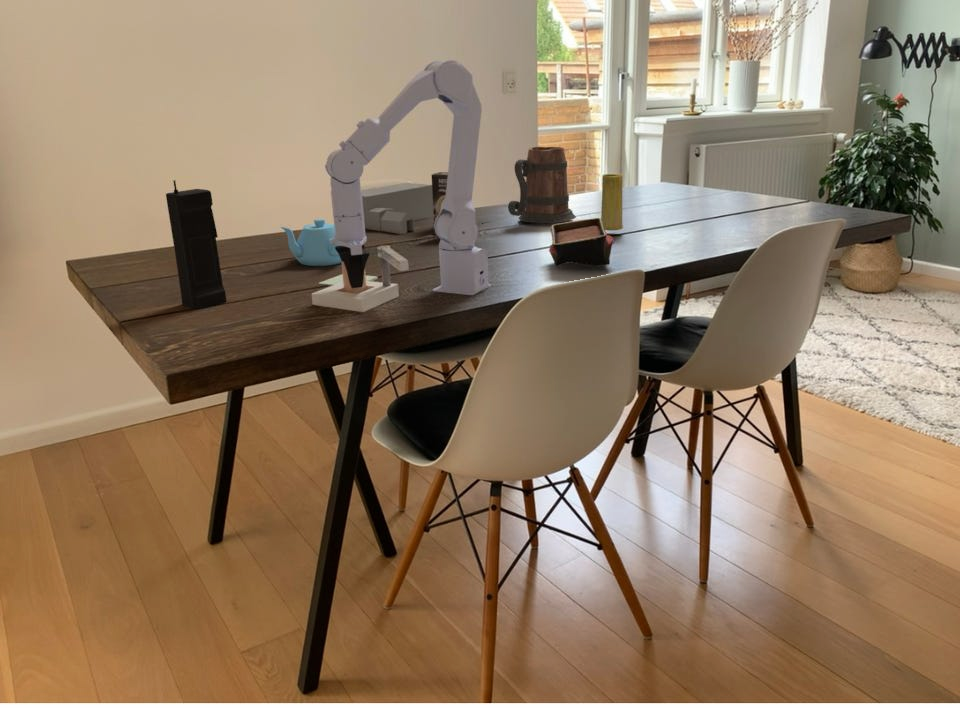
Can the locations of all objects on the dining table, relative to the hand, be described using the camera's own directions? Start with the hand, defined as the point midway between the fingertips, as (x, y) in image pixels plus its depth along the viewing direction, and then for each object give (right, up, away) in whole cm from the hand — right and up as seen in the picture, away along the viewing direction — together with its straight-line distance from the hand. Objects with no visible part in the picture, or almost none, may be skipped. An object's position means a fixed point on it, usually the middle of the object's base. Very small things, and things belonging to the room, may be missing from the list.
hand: (354, 284), depth 159 cm
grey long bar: (+8, +4, -6) cm, 11 cm away
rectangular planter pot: (+48, +7, +28) cm, 56 cm away
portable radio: (-29, -4, +2) cm, 30 cm away
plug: (0, -3, +1) cm, 3 cm away
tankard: (+42, +26, +79) cm, 93 cm away
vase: (+60, +20, +61) cm, 88 cm away
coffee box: (+17, +19, +64) cm, 69 cm away
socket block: (0, -3, +1) cm, 3 cm away
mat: (-4, +2, +16) cm, 17 cm away
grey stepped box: (+3, +22, +73) cm, 76 cm away
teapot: (-12, +8, +35) cm, 38 cm away
